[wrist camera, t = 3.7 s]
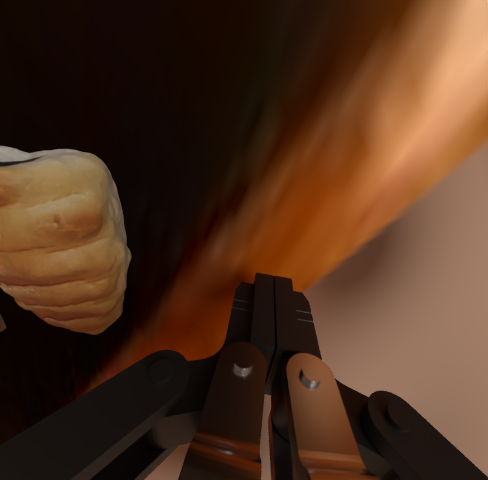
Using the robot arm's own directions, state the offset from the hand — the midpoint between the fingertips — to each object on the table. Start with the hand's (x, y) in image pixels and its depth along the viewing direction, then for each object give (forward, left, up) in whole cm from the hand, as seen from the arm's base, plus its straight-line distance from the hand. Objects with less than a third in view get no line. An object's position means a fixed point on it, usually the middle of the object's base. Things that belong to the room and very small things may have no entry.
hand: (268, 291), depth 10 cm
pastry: (0, -10, -2) cm, 10 cm away
